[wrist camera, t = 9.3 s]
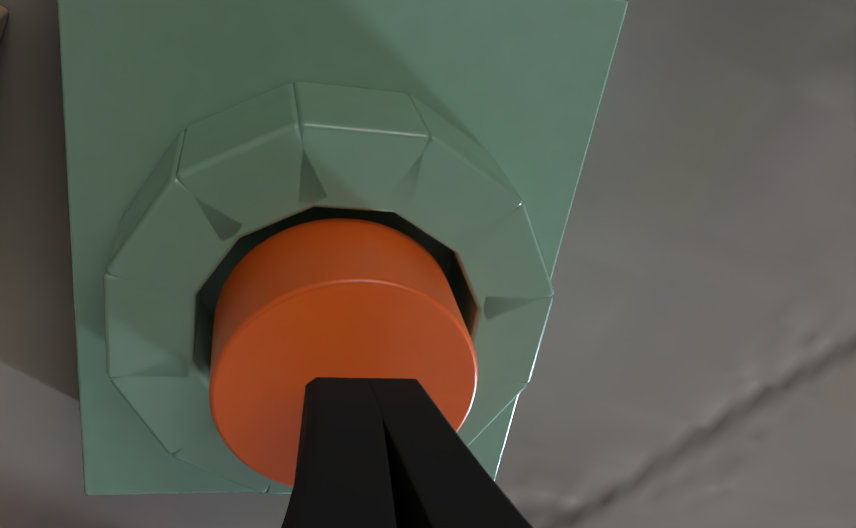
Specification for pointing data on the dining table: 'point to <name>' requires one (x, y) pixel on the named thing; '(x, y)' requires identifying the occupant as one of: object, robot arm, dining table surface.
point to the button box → (308, 187)
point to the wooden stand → (3, 19)
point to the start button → (330, 332)
